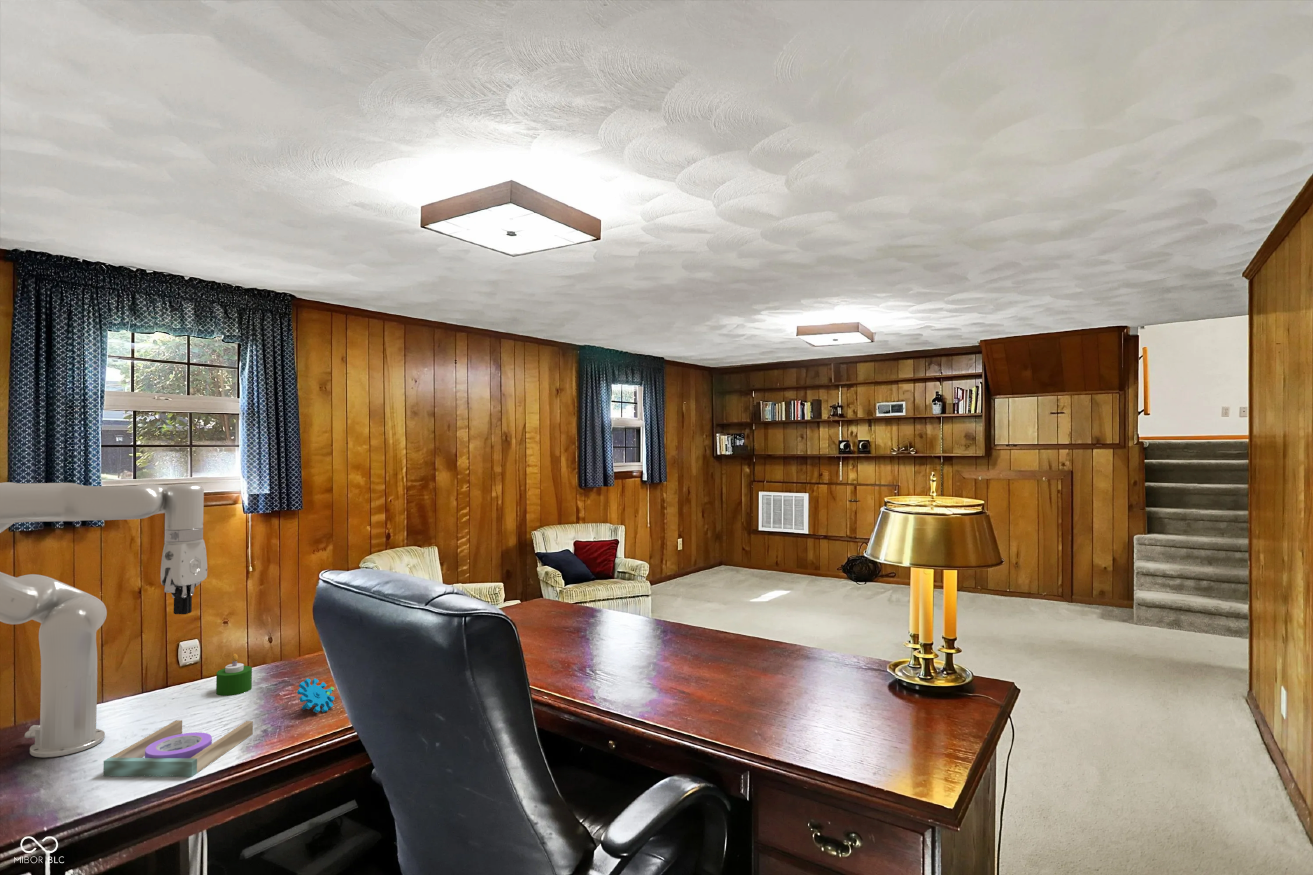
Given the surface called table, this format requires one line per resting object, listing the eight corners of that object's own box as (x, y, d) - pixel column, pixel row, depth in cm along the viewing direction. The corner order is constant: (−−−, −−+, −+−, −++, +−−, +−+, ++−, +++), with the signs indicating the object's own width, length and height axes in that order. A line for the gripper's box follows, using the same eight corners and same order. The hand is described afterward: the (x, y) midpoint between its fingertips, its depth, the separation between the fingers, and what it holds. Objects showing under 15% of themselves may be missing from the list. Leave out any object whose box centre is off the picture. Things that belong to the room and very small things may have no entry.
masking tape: (160, 751, 149) (160, 734, 149) (220, 746, 152) (220, 729, 152) (133, 776, 138) (133, 757, 138) (198, 770, 141) (199, 751, 141)
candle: (210, 696, 181) (211, 659, 181) (223, 686, 189) (224, 650, 189) (244, 694, 183) (245, 657, 183) (256, 684, 191) (256, 648, 191)
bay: (103, 775, 138) (103, 760, 138) (175, 733, 158) (175, 720, 158) (191, 776, 137) (192, 761, 137) (252, 733, 158) (252, 721, 158)
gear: (313, 713, 166) (293, 680, 169) (297, 729, 167) (278, 695, 170) (345, 703, 177) (326, 672, 180) (330, 718, 177) (312, 687, 180)
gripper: (177, 540, 154) (175, 621, 154) (220, 532, 169) (218, 606, 169) (144, 540, 154) (142, 621, 154) (190, 532, 169) (188, 605, 169)
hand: (182, 613), depth 161 cm, fingers closed
